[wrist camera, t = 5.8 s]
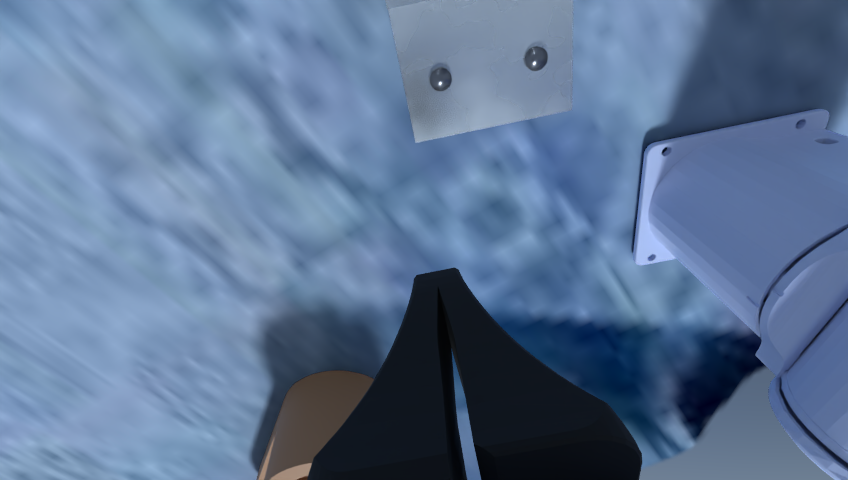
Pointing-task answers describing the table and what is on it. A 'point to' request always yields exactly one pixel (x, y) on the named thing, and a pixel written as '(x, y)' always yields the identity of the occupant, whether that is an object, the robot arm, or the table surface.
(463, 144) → the table surface
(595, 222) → the table surface
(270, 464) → the bracket
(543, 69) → the hinge
